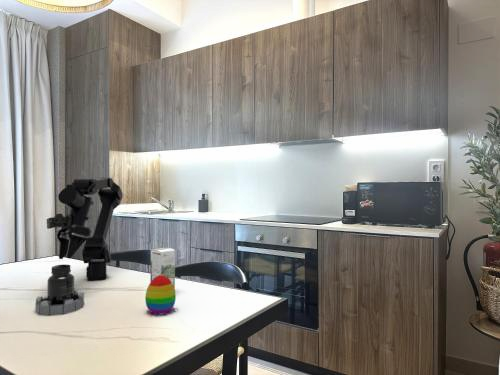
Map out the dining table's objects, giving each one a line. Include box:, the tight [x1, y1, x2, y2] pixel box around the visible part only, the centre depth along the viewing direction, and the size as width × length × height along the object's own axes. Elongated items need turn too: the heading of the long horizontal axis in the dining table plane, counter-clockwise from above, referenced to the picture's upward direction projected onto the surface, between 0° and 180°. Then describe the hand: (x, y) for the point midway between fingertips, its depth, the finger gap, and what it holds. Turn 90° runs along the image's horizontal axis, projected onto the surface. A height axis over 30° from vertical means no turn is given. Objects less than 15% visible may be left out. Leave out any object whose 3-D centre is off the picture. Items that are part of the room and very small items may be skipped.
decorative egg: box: [145, 275, 177, 315], centre depth 98 cm, size 8×8×10 cm
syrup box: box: [149, 247, 176, 290], centre depth 114 cm, size 6×6×14 cm
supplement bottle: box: [46, 264, 75, 305], centre depth 101 cm, size 7×7×12 cm
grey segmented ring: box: [34, 289, 85, 317], centre depth 100 cm, size 12×12×4 cm
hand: (64, 258), depth 114 cm, fingers open, 9 cm apart
